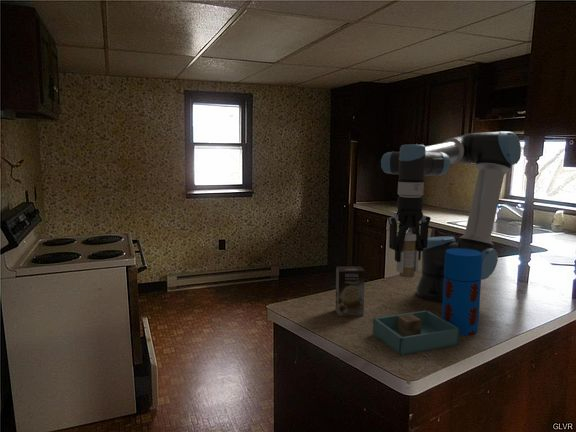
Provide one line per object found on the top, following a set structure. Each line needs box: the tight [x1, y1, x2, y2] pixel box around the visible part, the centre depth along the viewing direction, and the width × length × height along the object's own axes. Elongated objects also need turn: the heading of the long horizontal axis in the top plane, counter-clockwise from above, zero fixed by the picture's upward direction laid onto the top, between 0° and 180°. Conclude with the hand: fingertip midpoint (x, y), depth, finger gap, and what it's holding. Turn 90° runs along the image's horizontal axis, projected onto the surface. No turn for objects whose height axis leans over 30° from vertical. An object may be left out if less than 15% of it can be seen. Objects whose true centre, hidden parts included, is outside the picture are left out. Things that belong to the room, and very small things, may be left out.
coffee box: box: [335, 266, 366, 317], centre depth 150 cm, size 9×6×16 cm
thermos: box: [441, 248, 482, 336], centre depth 135 cm, size 11×11×25 cm
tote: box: [372, 310, 461, 356], centre depth 129 cm, size 20×16×5 cm
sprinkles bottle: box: [399, 232, 416, 279], centre depth 132 cm, size 5×5×13 cm
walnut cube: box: [397, 314, 421, 337], centre depth 132 cm, size 5×5×5 cm
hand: (407, 271), depth 133 cm, fingers closed on sprinkles bottle, 4 cm apart
